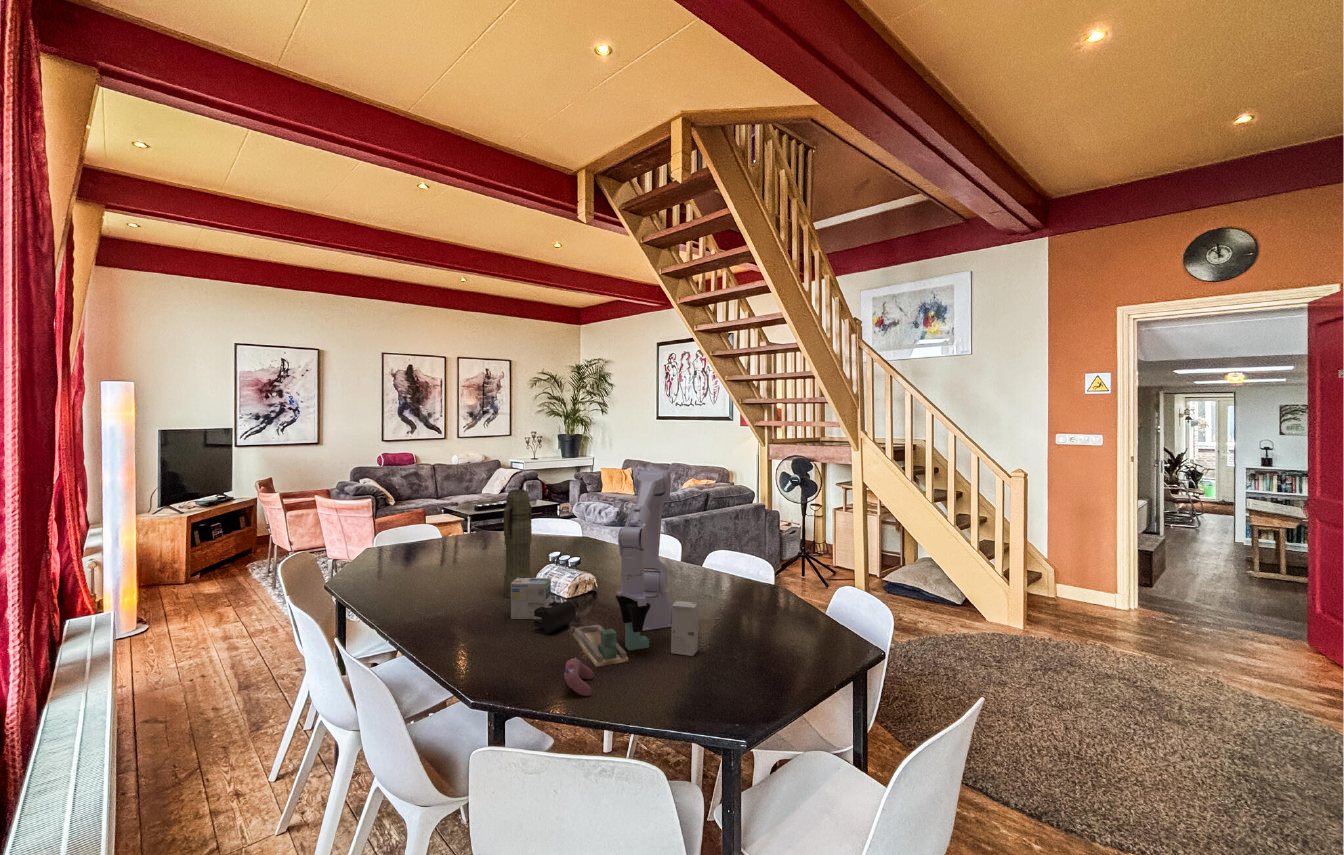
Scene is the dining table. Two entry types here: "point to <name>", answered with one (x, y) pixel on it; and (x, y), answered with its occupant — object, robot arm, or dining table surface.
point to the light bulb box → (529, 596)
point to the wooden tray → (600, 645)
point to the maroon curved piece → (572, 676)
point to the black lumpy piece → (554, 616)
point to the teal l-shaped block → (634, 639)
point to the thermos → (517, 537)
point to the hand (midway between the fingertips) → (632, 626)
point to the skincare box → (684, 628)
